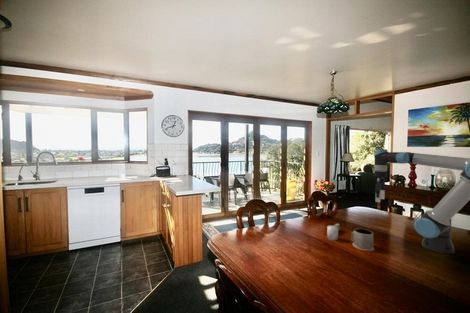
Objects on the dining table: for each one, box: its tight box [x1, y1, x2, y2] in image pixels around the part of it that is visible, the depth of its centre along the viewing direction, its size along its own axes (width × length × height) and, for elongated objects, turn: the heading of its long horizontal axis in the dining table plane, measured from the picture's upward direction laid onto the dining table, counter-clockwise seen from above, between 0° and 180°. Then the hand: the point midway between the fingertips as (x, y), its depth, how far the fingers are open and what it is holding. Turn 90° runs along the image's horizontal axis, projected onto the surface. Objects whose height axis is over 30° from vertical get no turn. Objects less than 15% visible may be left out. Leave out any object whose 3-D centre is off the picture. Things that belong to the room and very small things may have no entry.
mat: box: [352, 242, 375, 252], centre depth 137 cm, size 12×12×1 cm
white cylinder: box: [326, 225, 339, 241], centre depth 150 cm, size 7×7×8 cm
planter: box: [353, 227, 374, 249], centre depth 137 cm, size 11×11×10 cm
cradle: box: [332, 222, 354, 242], centre depth 156 cm, size 16×14×5 cm
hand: (380, 200), depth 151 cm, fingers open, 13 cm apart
